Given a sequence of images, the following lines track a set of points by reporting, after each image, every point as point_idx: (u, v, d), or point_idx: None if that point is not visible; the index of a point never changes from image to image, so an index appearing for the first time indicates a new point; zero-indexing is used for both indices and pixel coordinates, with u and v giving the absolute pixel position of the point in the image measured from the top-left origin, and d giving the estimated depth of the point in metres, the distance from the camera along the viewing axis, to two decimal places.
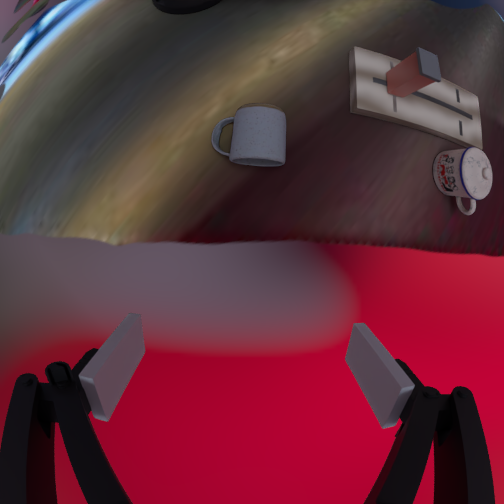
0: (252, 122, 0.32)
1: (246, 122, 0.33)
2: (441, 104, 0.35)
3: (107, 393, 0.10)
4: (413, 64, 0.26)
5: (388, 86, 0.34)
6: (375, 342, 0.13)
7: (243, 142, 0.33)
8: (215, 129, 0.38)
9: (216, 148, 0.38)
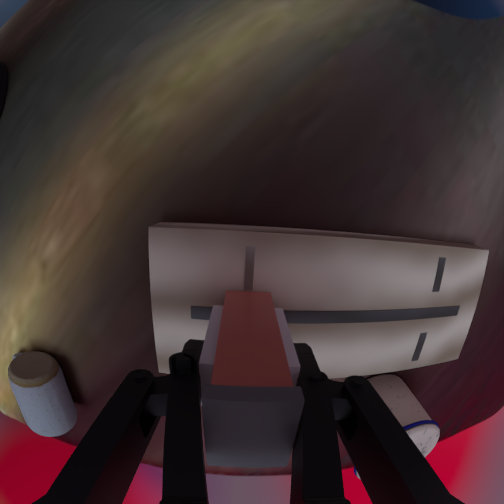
0: (17, 399, 0.17)
1: None
2: (381, 319, 0.20)
3: None
4: None
5: None
6: (282, 325, 0.15)
7: (22, 412, 0.18)
8: None
9: None
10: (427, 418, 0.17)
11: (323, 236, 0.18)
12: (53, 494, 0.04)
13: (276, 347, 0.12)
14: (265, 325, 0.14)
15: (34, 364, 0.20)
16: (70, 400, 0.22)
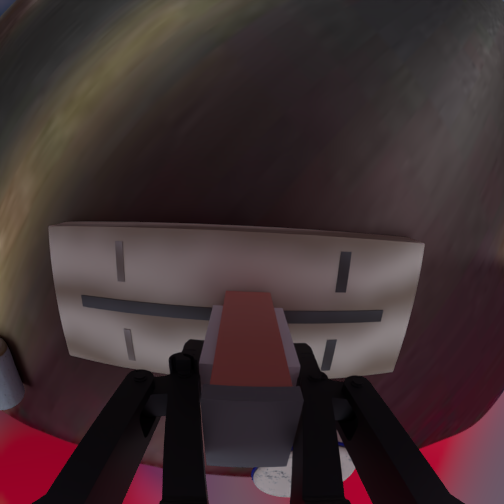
0: None
1: None
2: None
3: None
4: None
5: None
6: (282, 325, 0.15)
7: None
8: None
9: None
10: None
11: (184, 229, 0.18)
12: (52, 493, 0.04)
13: (275, 347, 0.12)
14: (265, 325, 0.14)
15: None
16: (16, 379, 0.22)
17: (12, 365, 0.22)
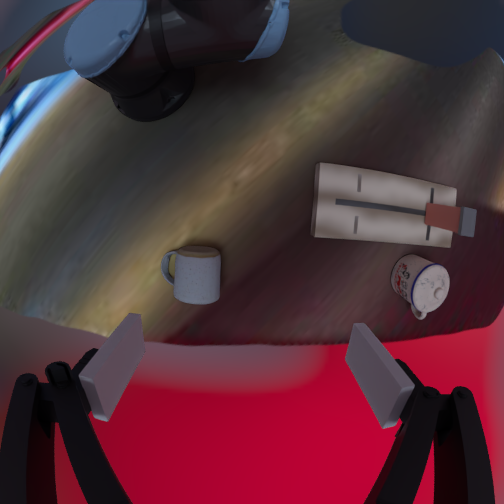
0: (186, 272, 0.40)
1: (182, 271, 0.41)
2: (409, 212, 0.43)
3: (107, 393, 0.10)
4: (455, 218, 0.34)
5: (426, 218, 0.43)
6: (375, 342, 0.13)
7: (180, 288, 0.41)
8: (163, 259, 0.46)
9: (165, 277, 0.46)
10: None
11: None
12: None
13: None
14: None
15: (200, 249, 0.44)
16: None
17: None
